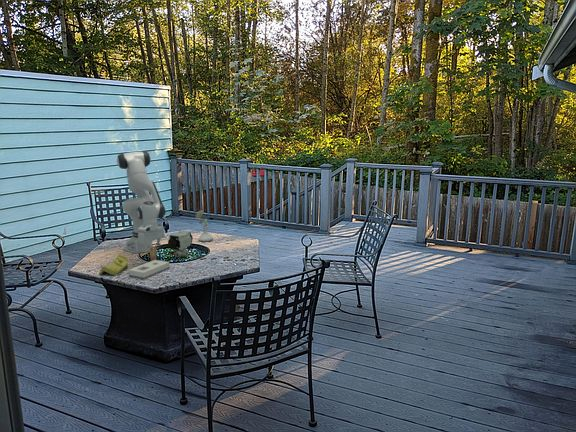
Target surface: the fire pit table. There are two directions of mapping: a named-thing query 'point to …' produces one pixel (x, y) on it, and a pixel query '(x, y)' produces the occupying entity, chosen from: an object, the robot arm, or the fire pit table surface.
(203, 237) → the flower in vase
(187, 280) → the fire pit table surface
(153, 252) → the brown cylinder
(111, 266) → the plastic component
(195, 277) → the fire pit table surface
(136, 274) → the fitting block
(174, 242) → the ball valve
